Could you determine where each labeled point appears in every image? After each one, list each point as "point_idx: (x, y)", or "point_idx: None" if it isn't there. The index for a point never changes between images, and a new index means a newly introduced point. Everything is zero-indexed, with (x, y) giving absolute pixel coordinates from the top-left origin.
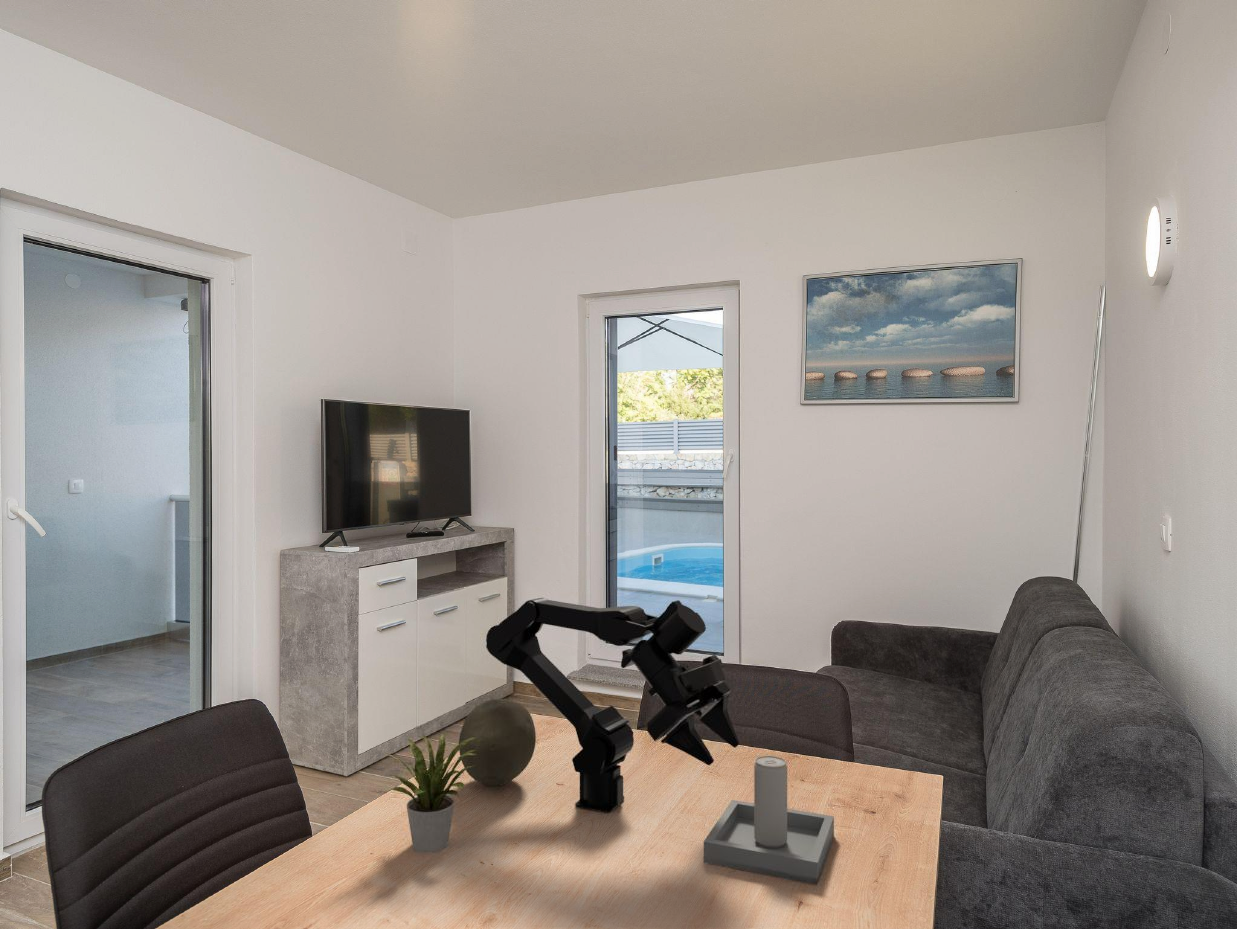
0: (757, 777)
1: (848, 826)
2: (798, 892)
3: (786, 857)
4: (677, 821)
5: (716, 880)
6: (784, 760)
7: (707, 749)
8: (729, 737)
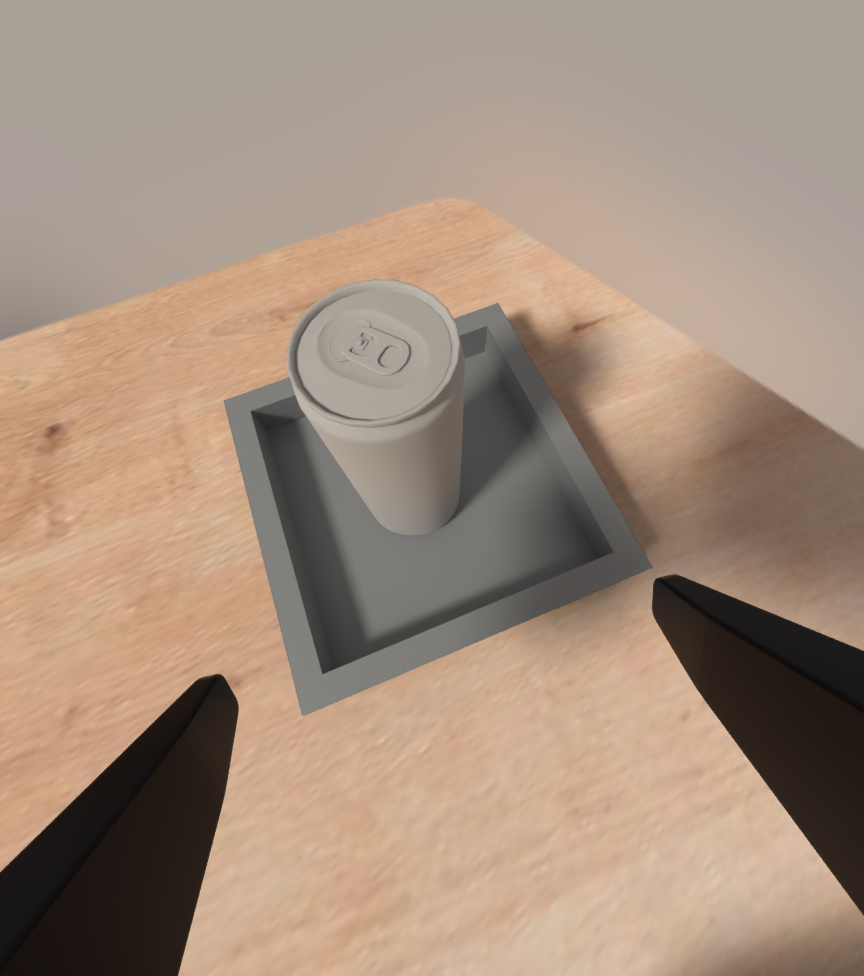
0: (458, 412)
1: (174, 430)
2: (549, 348)
3: (530, 361)
4: (477, 855)
5: (663, 494)
6: (311, 310)
7: (735, 626)
8: (196, 779)
